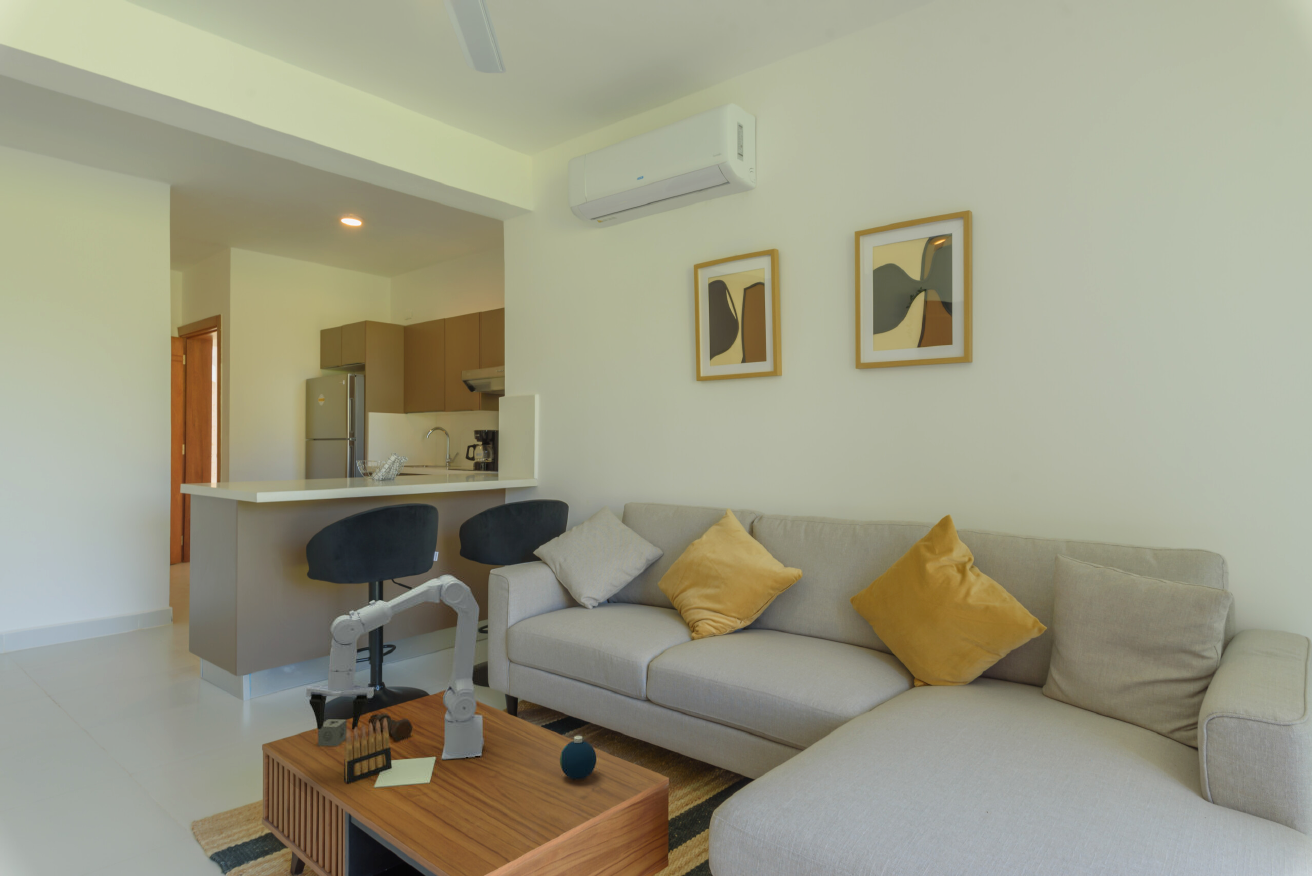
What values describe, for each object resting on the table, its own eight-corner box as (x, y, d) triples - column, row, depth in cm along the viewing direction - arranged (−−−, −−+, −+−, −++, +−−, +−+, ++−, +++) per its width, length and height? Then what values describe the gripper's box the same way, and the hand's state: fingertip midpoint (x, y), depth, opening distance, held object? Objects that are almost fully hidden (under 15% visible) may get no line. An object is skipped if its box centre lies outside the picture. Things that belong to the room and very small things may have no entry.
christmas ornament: (571, 767, 175) (571, 725, 175) (602, 773, 172) (602, 730, 172) (553, 782, 168) (553, 738, 168) (585, 788, 164) (585, 743, 164)
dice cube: (346, 738, 193) (346, 719, 193) (336, 746, 188) (336, 726, 188) (328, 738, 194) (328, 719, 194) (318, 745, 189) (318, 726, 189)
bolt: (376, 732, 202) (406, 744, 193) (361, 728, 199) (391, 740, 190) (385, 711, 205) (415, 721, 195) (370, 706, 201) (400, 717, 192)
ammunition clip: (347, 784, 167) (345, 731, 167) (343, 781, 168) (342, 729, 168) (392, 768, 175) (390, 717, 175) (388, 766, 176) (387, 715, 176)
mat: (435, 757, 181) (435, 756, 181) (429, 782, 167) (429, 782, 167) (384, 761, 179) (384, 760, 179) (374, 787, 165) (374, 786, 165)
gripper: (303, 672, 167) (298, 733, 166) (370, 674, 168) (365, 734, 168) (314, 664, 174) (309, 722, 173) (377, 665, 175) (373, 723, 175)
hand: (337, 727), depth 171 cm, fingers open, 7 cm apart
